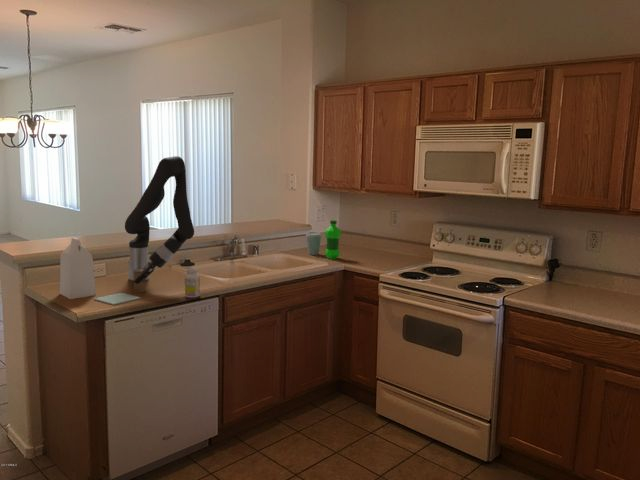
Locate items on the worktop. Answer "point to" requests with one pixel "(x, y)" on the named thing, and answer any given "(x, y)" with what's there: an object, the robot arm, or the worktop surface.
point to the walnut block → (142, 285)
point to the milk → (76, 271)
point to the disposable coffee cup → (313, 242)
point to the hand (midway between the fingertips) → (135, 281)
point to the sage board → (117, 298)
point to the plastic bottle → (332, 241)
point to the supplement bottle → (192, 283)
